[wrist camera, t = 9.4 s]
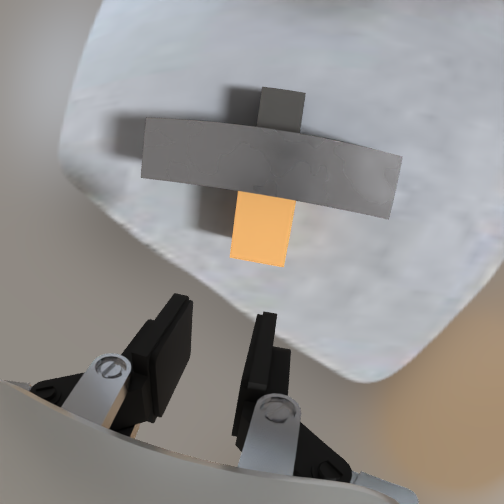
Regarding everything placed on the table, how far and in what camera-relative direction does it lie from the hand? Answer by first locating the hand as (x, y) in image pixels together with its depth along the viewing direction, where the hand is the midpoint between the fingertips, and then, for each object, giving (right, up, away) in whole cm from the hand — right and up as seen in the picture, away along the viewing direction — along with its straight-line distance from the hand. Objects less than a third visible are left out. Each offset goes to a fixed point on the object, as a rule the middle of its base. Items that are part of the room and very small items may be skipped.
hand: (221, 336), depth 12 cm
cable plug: (+3, +10, +13) cm, 16 cm away
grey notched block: (+3, +11, +12) cm, 16 cm away
